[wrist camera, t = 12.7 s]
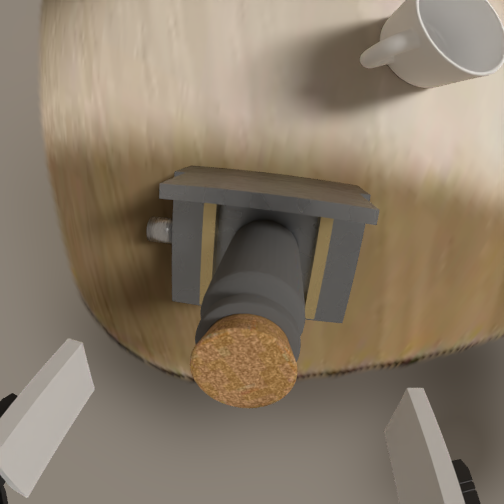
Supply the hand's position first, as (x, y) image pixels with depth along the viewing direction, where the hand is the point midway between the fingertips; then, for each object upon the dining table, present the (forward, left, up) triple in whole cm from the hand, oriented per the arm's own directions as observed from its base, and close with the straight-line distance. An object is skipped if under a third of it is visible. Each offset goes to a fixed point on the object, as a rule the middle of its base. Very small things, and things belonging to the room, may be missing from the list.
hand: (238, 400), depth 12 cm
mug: (-20, +11, -22) cm, 32 cm away
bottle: (0, 0, -17) cm, 17 cm away
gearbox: (0, -2, -22) cm, 22 cm away
